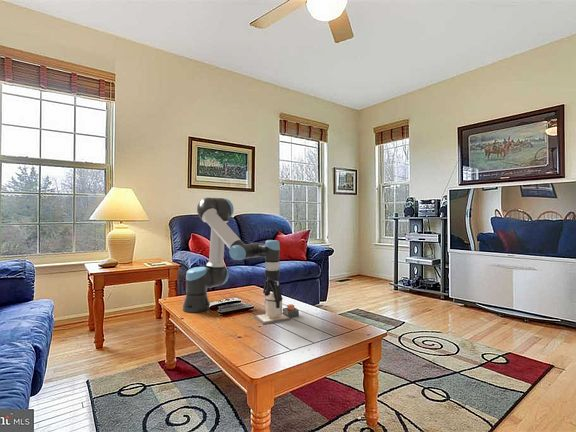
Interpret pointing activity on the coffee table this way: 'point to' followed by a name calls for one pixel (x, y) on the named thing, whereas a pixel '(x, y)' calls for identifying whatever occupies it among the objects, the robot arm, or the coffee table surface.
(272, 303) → the teacup with lid
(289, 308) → the button
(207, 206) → the robot arm
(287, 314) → the button housing
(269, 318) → the board
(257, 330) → the coffee table surface
